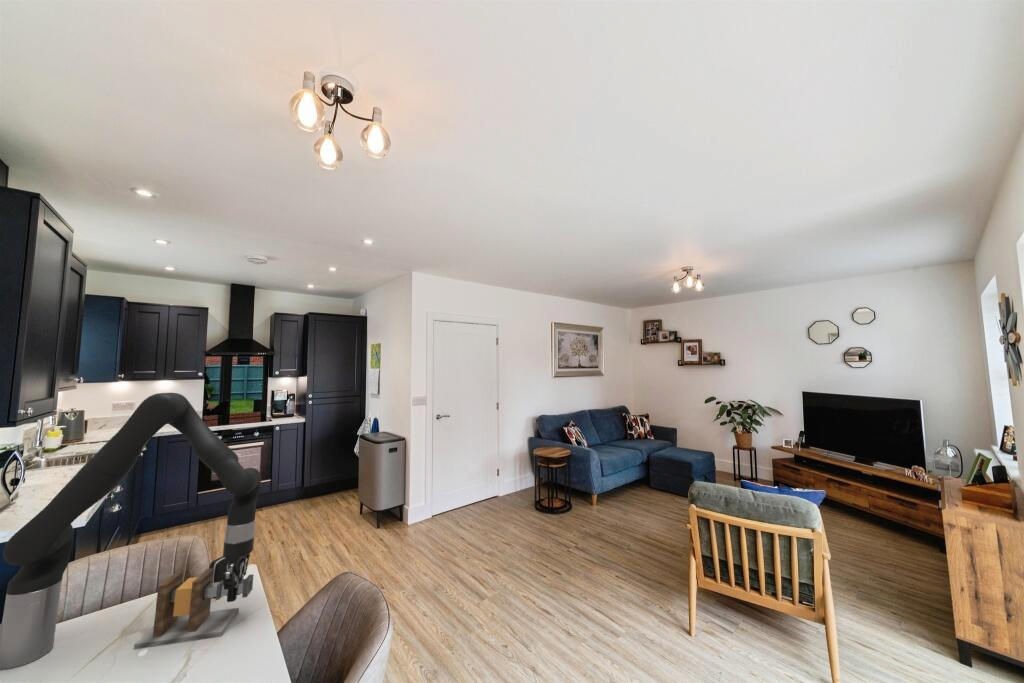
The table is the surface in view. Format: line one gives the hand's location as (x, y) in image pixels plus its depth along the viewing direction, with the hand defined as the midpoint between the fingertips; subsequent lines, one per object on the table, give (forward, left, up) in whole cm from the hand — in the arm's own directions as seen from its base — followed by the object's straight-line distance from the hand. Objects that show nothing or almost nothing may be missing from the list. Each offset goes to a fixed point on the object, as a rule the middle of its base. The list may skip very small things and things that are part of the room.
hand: (233, 597), depth 113 cm
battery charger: (-11, +20, -7) cm, 24 cm away
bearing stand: (-10, 0, -7) cm, 13 cm away
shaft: (-6, 0, +1) cm, 6 cm away
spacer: (-11, 0, -1) cm, 11 cm away
